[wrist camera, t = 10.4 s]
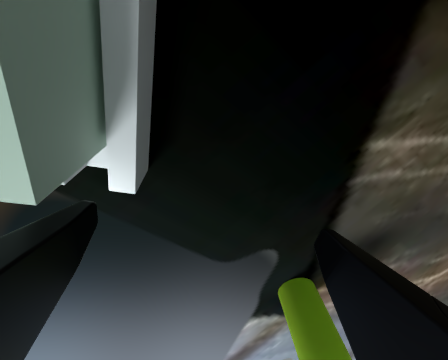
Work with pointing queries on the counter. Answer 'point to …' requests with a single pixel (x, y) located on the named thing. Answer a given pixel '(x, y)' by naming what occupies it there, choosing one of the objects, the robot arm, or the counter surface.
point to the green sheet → (48, 94)
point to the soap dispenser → (310, 322)
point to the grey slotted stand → (126, 91)
